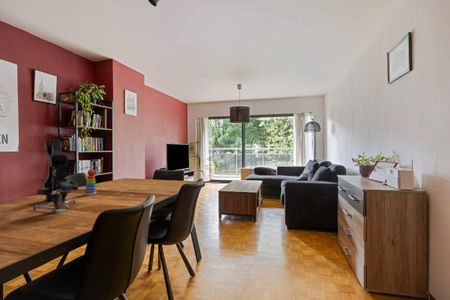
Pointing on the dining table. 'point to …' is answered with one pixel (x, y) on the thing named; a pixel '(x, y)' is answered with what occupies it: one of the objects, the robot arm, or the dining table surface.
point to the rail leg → (54, 205)
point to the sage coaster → (60, 210)
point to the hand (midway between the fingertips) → (58, 205)
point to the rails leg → (51, 208)
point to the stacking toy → (90, 183)
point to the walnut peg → (59, 202)
